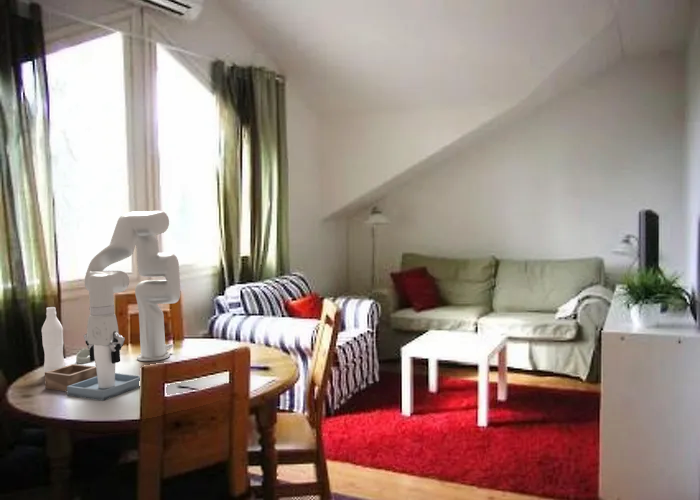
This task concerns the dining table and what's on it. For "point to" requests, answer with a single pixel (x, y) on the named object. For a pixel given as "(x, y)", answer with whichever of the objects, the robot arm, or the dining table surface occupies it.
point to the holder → (68, 376)
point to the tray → (94, 392)
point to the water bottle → (52, 341)
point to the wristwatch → (83, 356)
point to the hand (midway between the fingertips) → (105, 361)
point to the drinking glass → (104, 366)
